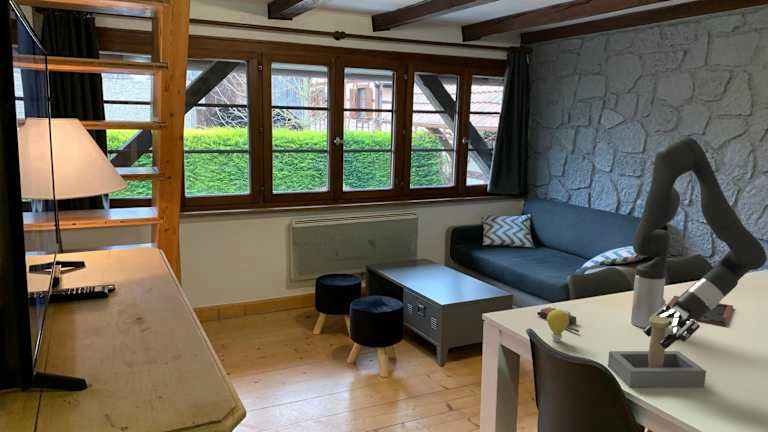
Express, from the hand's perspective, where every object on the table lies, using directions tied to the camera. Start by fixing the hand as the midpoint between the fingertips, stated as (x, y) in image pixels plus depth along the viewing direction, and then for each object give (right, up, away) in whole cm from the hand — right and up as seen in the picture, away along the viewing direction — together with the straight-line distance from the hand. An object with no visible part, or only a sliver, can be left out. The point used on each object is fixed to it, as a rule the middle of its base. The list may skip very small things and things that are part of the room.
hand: (653, 340), depth 152 cm
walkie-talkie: (-11, -4, +42) cm, 44 cm away
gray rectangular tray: (+1, -10, +2) cm, 10 cm away
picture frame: (+44, -3, +57) cm, 72 cm away
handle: (+1, -9, +2) cm, 10 cm away
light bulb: (-18, -6, +27) cm, 33 cm away
